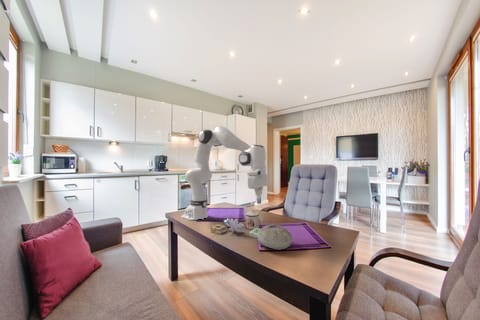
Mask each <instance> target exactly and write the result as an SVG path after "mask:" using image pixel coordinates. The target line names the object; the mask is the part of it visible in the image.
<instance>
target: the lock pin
mask: <svg viewBox="0 0 480 320" xmlns="http://www.w3.org/2000/svg"><path fill="white" fill-rule="evenodd" d="M261 188H262V187H259V189H258V191H259V195H256V203H257V205H258V204H262V194H261Z"/></svg>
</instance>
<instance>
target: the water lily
mask: <svg viewBox="0 0 480 320" xmlns="http://www.w3.org/2000/svg"><path fill="white" fill-rule="evenodd" d="M227 219H228V221H229V224H230V225H229V224H228V223H226V222H225V223H226V224H225V225H226V226H227V225H228V226H229V227H230V228H228V231H229V232H231V233H230V234H231V235H230V236H233V233H234V230H235V231H236V232H239V233H243V234H244V233H245V232H244V230H242V228H243V227H245V226H246V224H245V225H244V224H243V223H242V222H240V223H239V219H238V218H235V219H234V221H233V218H229V217H227ZM230 219H231V220H230Z"/></svg>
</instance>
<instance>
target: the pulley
mask: <svg viewBox="0 0 480 320" xmlns="http://www.w3.org/2000/svg"><path fill="white" fill-rule="evenodd" d="M229 219H230V220H231V219H233V218H229ZM233 221H235V219H233ZM225 222H226V223H228V224H229V221H228V218H225V219H223V225H226V228H228V229H229V228H231V227H229V226H228V225H227V224H226V223H225ZM229 225H230V224H229ZM230 226H231V225H230Z"/></svg>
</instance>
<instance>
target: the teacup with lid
mask: <svg viewBox="0 0 480 320" xmlns="http://www.w3.org/2000/svg"><path fill="white" fill-rule="evenodd" d="M245 217H246V218H245V222H246V223H245V226H246V228H247V229H248V230H249V229H250V230H253V229H255V228H259V229H260V226H261V225H262V224H263V218H261V217H260V213H259V212H257V211H255V210H254V209H251V210H250V211H248V212H246V213H245Z"/></svg>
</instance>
